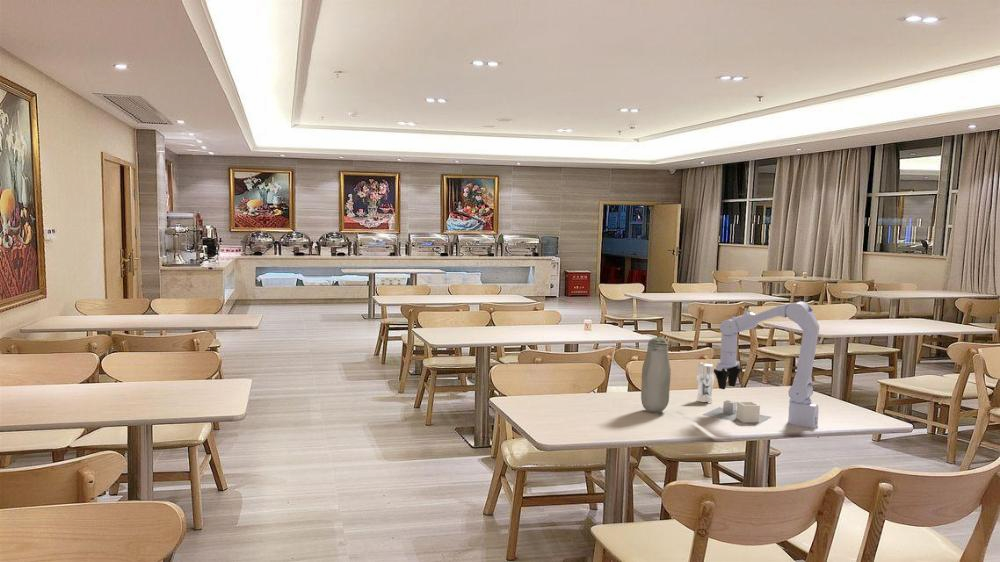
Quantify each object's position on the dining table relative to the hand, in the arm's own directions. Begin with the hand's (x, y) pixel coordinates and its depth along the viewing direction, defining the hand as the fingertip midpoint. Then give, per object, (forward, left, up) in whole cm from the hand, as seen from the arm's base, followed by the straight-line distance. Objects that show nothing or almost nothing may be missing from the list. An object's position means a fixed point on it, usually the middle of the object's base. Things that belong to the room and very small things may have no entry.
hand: (726, 387), depth 272 cm
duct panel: (-6, +5, -10) cm, 13 cm away
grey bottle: (+21, +17, -10) cm, 29 cm away
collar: (-11, +8, -9) cm, 16 cm away
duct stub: (-2, +2, -10) cm, 10 cm away
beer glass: (+14, -13, -10) cm, 22 cm away
